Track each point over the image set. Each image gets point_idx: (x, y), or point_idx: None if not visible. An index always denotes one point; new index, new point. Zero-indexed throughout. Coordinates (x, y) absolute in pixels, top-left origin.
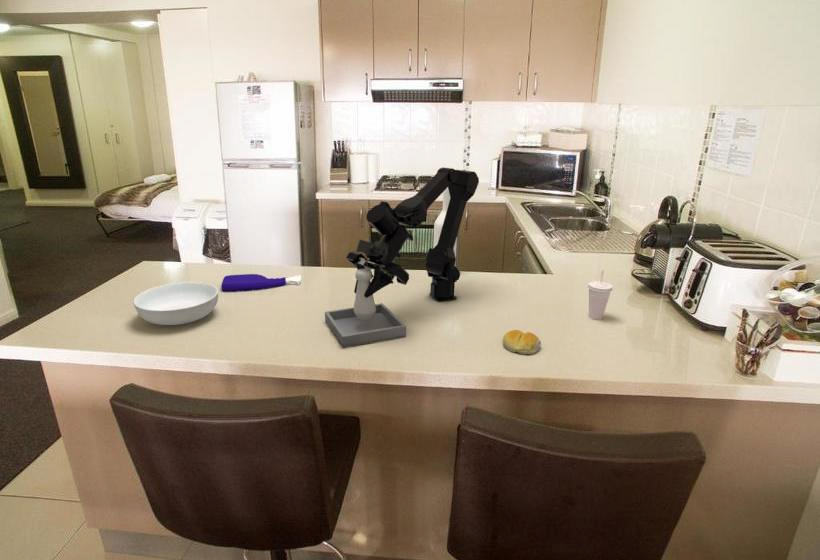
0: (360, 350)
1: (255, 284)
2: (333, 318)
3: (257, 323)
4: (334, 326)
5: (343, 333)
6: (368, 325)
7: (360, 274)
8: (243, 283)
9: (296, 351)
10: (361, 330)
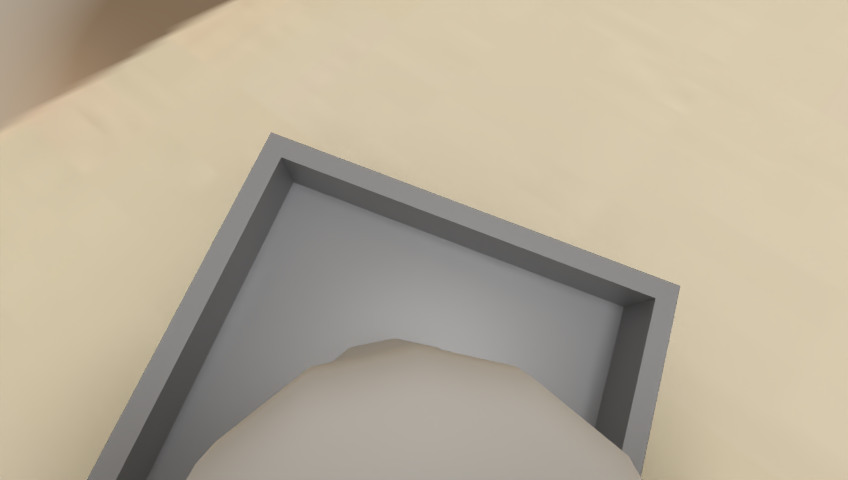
0: (194, 214)
1: None
2: (621, 335)
3: (811, 45)
4: (443, 200)
5: (305, 165)
6: None
7: (298, 386)
8: None
9: (424, 6)
10: None
